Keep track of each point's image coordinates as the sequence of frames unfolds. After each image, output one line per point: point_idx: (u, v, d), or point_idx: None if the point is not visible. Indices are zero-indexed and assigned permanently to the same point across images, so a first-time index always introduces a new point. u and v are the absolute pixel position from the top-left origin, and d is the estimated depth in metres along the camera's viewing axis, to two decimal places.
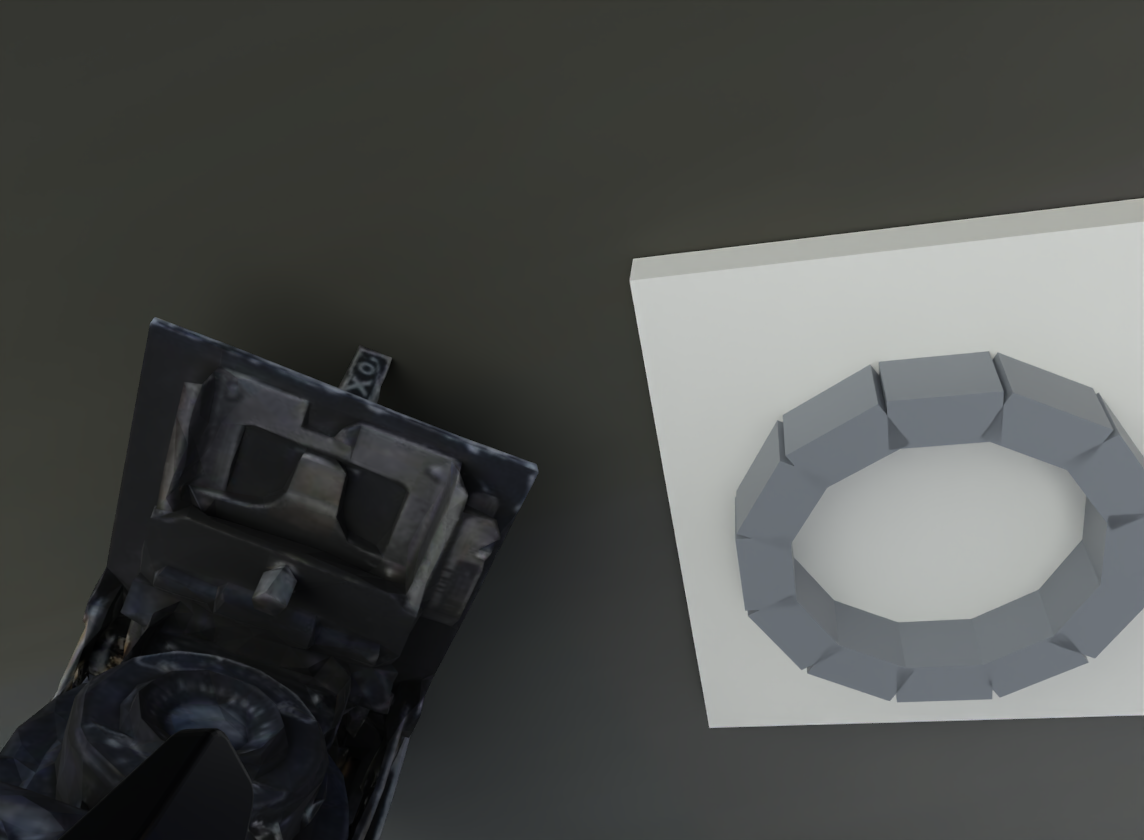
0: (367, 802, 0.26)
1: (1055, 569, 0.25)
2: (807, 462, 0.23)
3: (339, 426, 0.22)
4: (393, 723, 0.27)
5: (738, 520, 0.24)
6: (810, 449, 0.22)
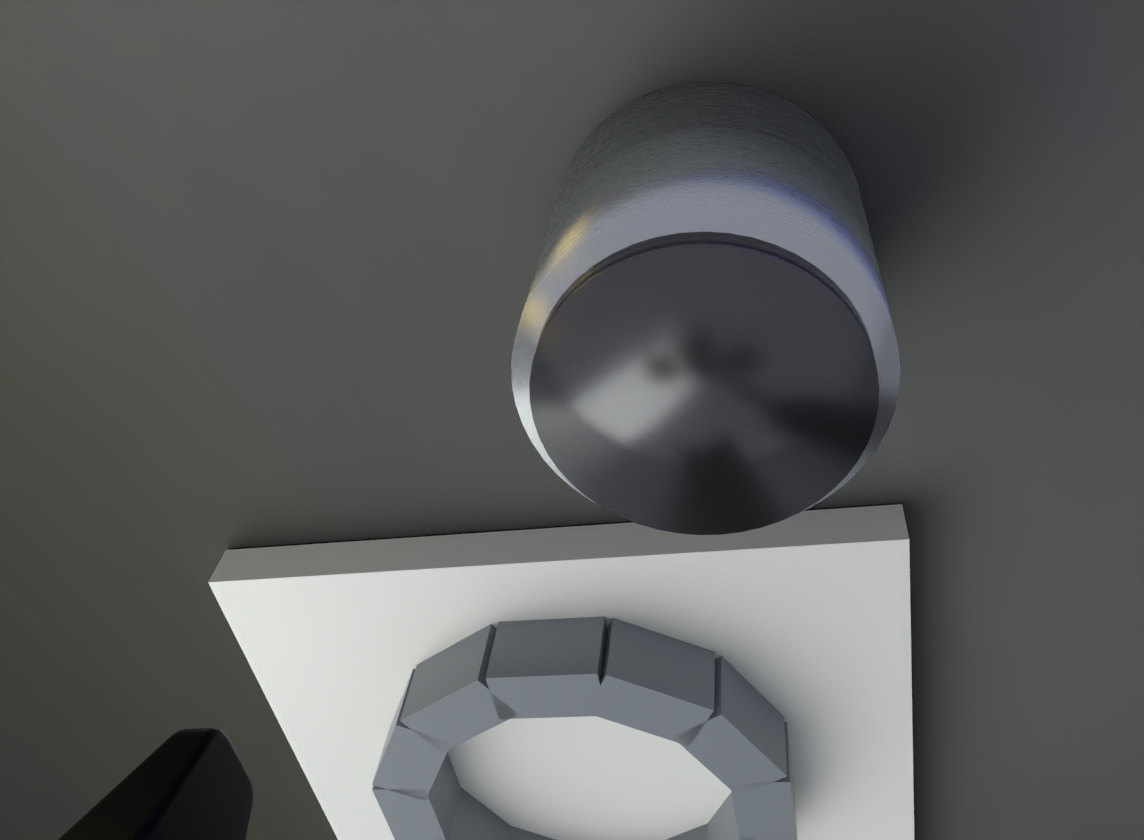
0: None
1: None
2: None
3: None
4: None
5: None
6: None
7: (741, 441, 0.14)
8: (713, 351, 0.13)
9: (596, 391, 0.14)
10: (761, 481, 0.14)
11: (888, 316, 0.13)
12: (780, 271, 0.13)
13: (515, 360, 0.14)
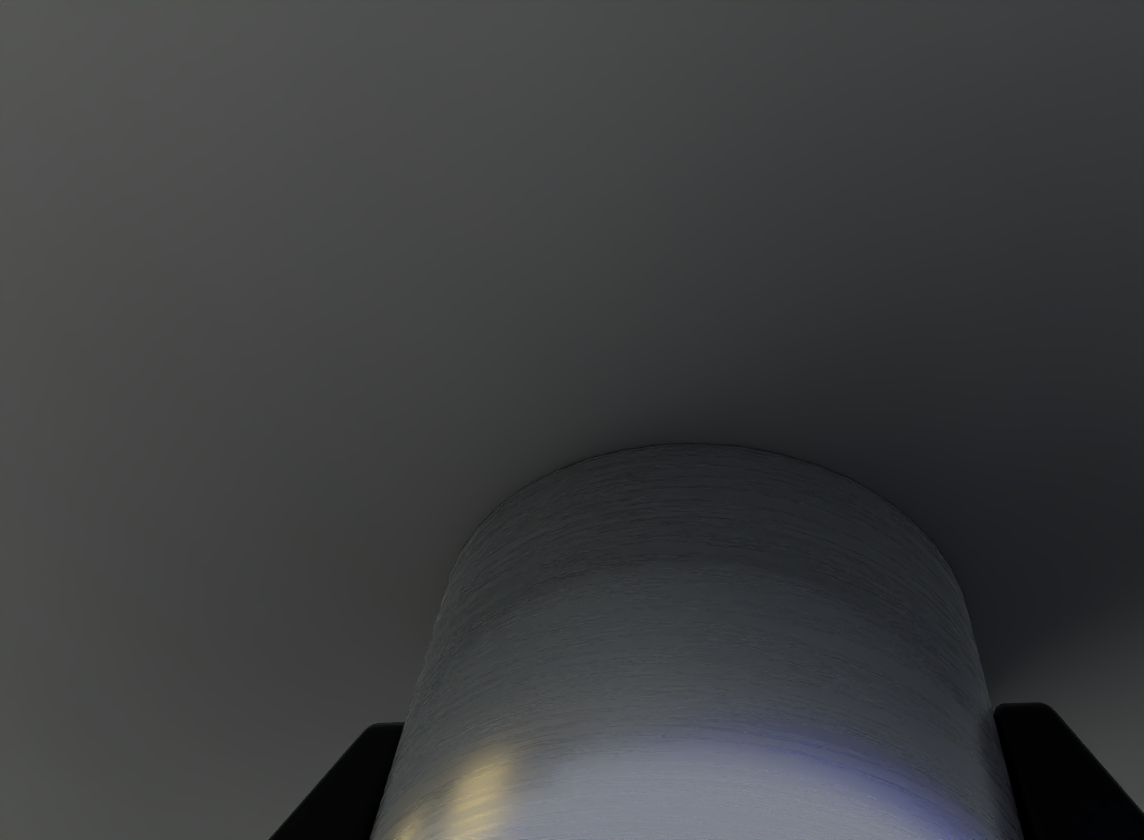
0: None
1: None
2: None
3: None
4: None
5: None
6: None
7: None
8: None
9: None
10: None
11: None
12: None
13: None
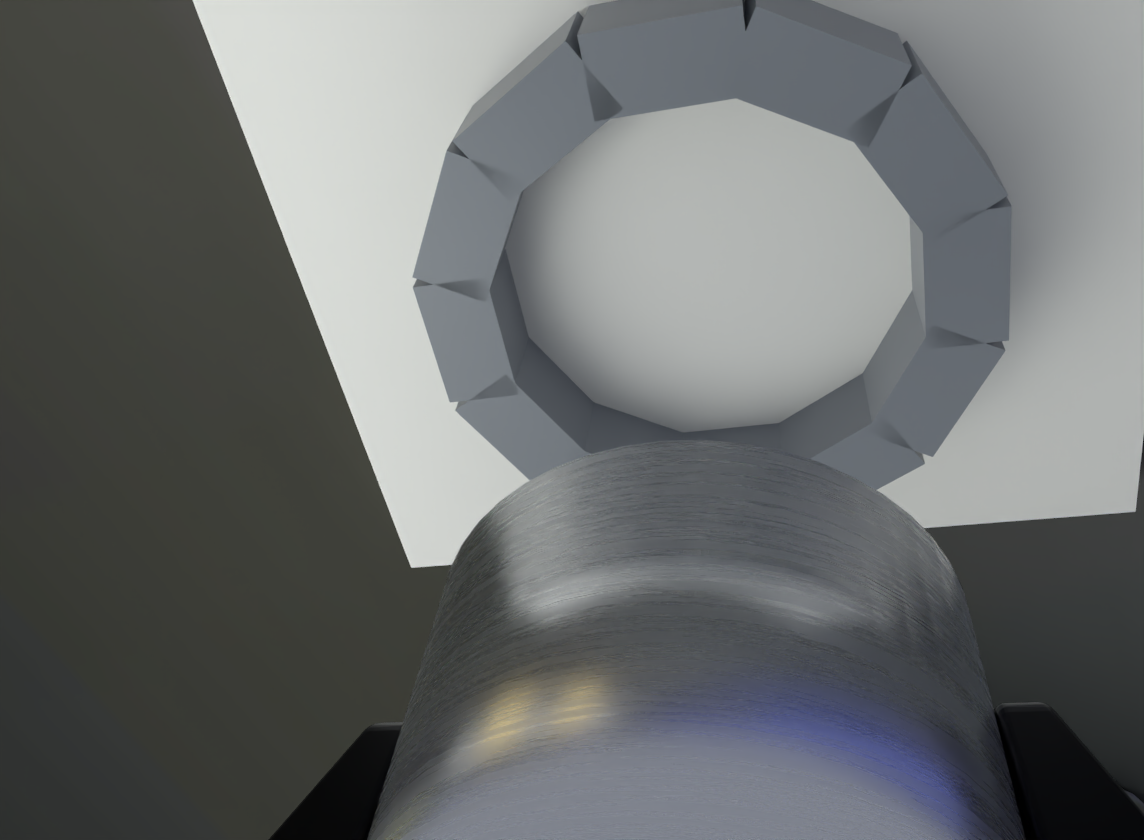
0: None
1: None
2: None
3: None
4: None
5: None
6: (530, 469, 0.19)
7: None
8: None
9: None
10: None
11: None
12: None
13: None
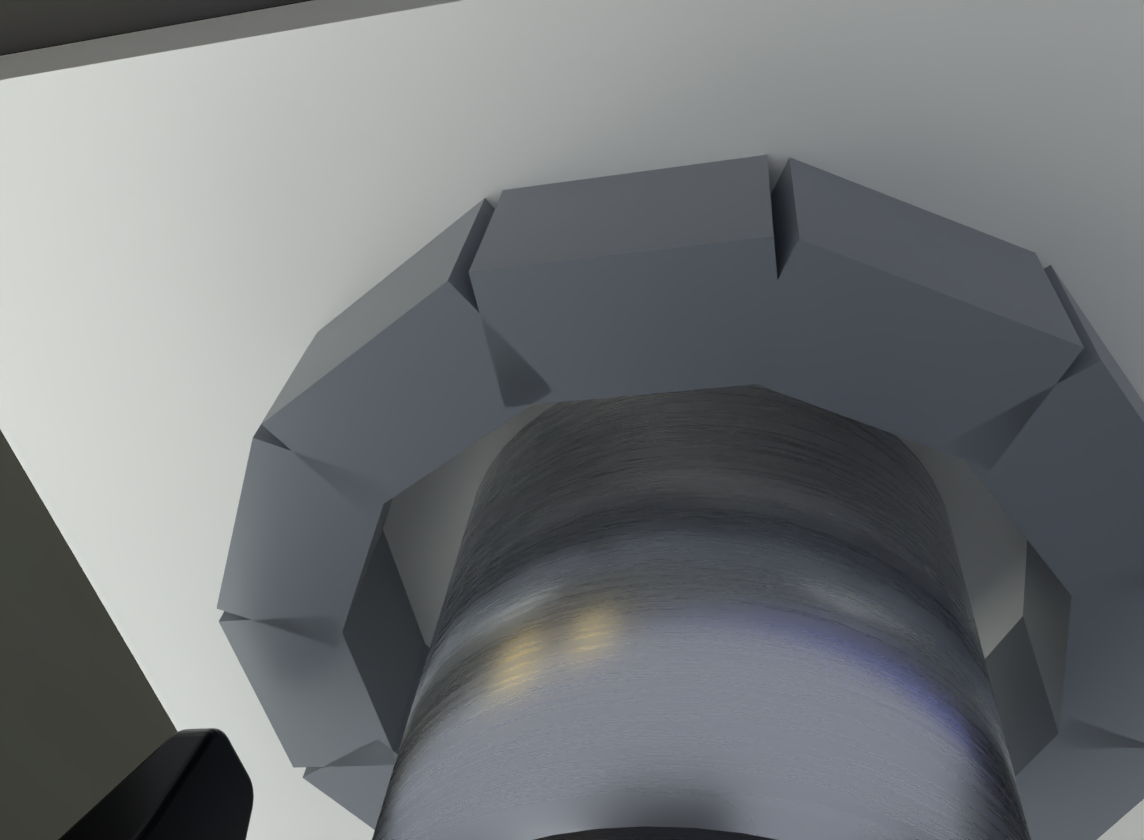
0: None
1: None
2: None
3: None
4: None
5: None
6: None
7: None
8: None
9: None
10: None
11: None
12: None
13: None
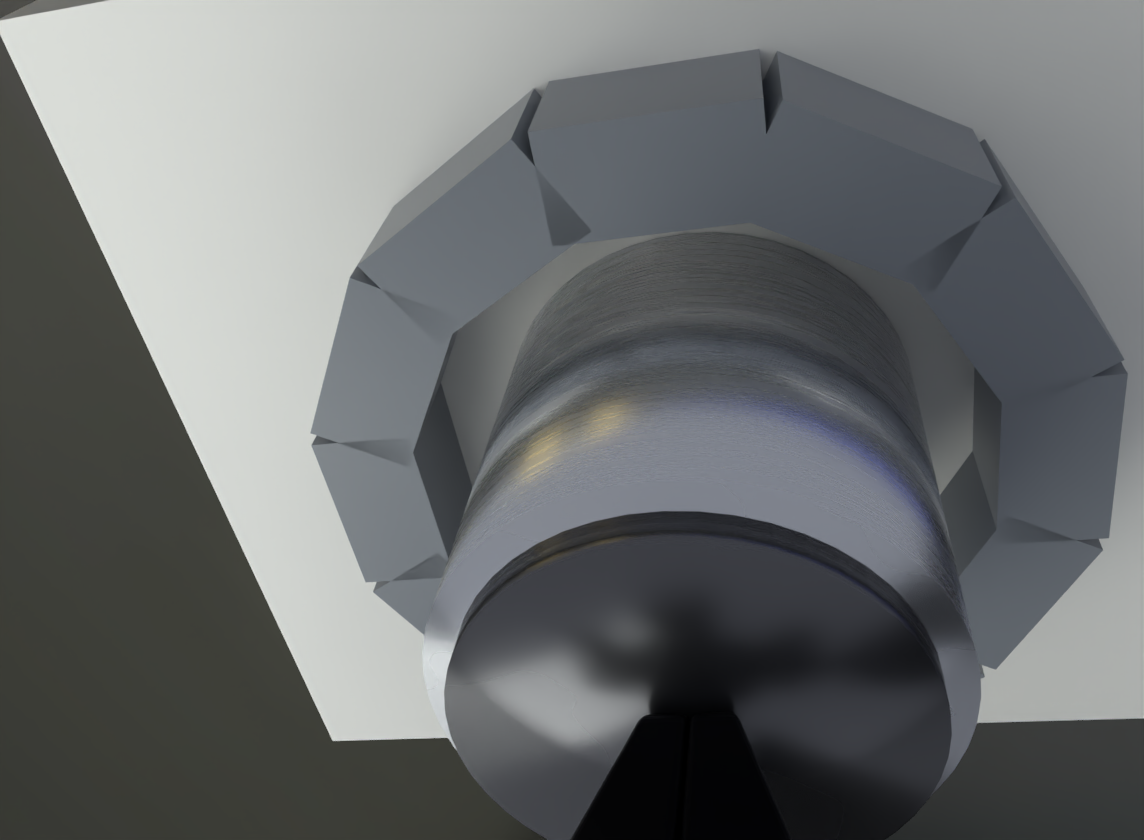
0: None
1: None
2: None
3: None
4: None
5: None
6: None
7: None
8: (709, 674, 0.09)
9: (539, 711, 0.10)
10: None
11: (968, 632, 0.09)
12: (813, 583, 0.08)
13: (428, 650, 0.10)
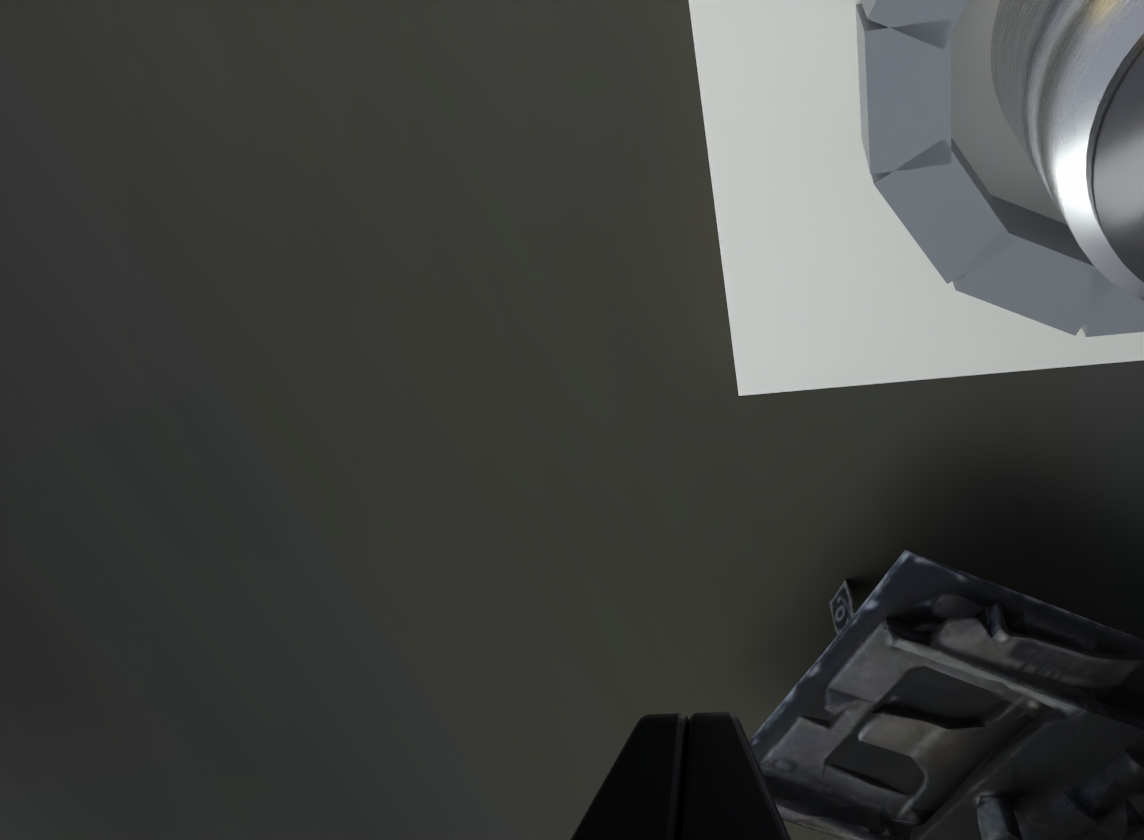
0: None
1: None
2: (961, 258, 0.17)
3: None
4: None
5: None
6: (940, 255, 0.18)
7: None
8: None
9: None
10: None
11: None
12: None
13: (1076, 101, 0.13)
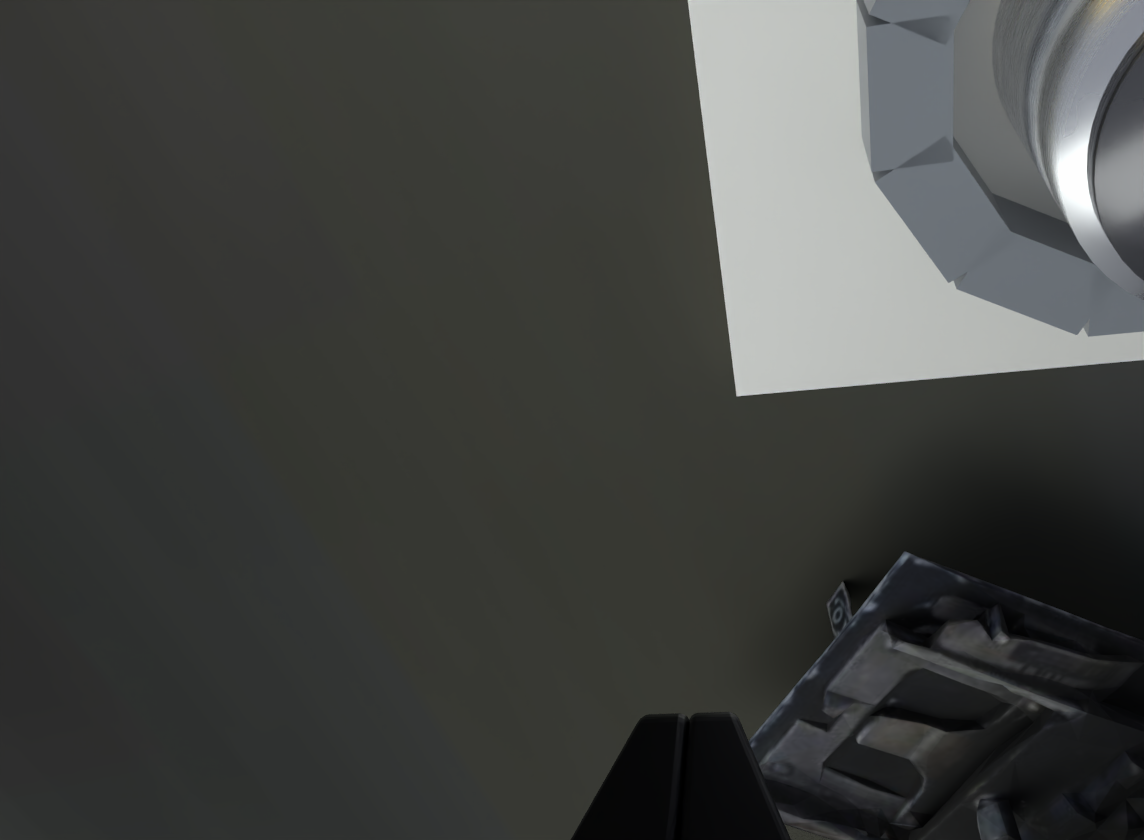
0: None
1: None
2: (962, 257, 0.17)
3: None
4: None
5: None
6: (941, 254, 0.17)
7: None
8: None
9: None
10: None
11: None
12: None
13: (1079, 94, 0.13)
